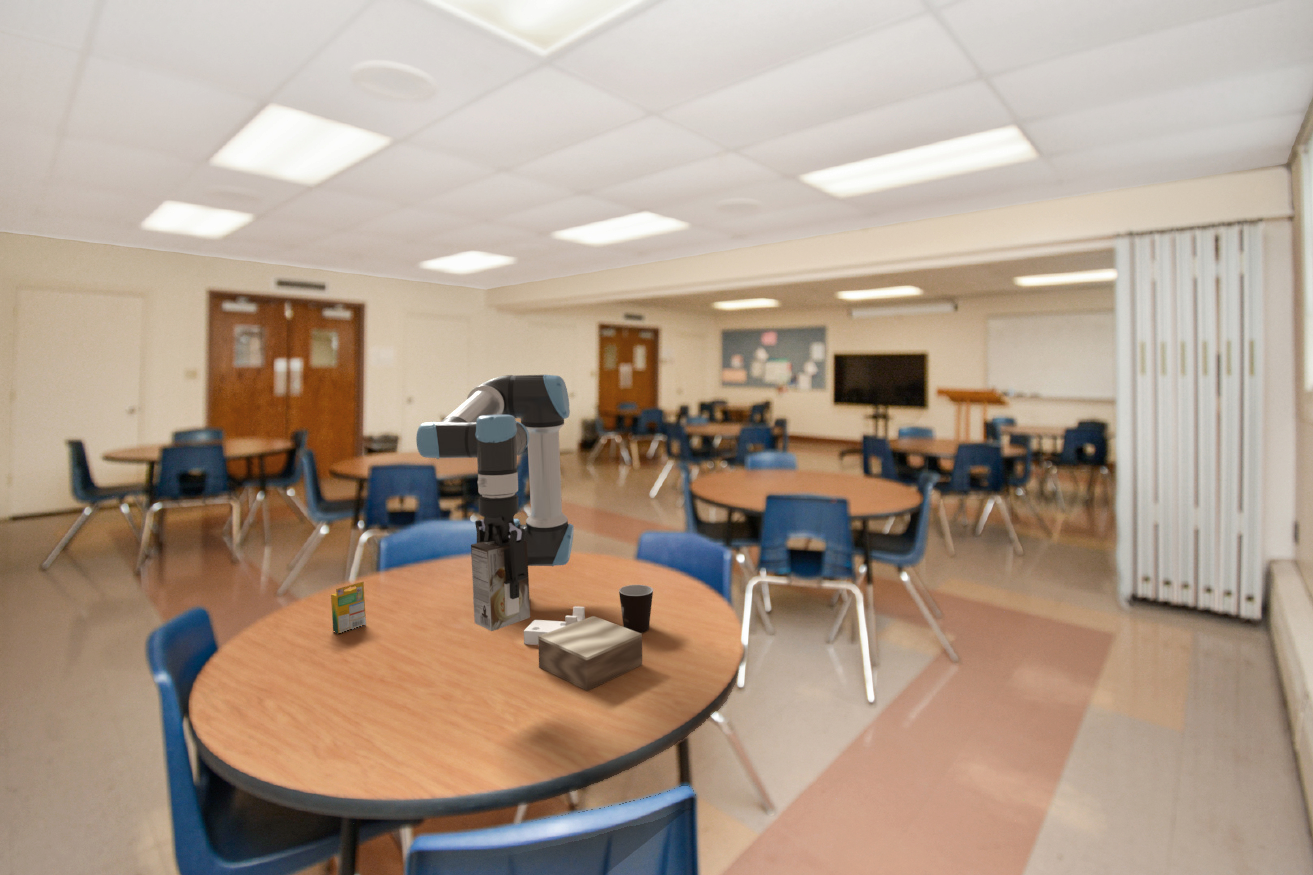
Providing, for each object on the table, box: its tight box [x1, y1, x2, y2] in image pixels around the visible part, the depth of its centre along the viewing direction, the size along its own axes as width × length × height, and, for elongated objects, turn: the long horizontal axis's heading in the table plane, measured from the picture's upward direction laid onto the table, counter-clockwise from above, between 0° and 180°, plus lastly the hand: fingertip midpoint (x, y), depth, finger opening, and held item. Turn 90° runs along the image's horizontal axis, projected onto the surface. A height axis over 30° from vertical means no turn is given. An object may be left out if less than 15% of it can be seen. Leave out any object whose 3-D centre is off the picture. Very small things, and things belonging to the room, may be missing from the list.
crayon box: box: [330, 581, 367, 634], centre depth 158 cm, size 7×3×12 cm, turn 145°
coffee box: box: [470, 540, 531, 632], centre depth 122 cm, size 9×6×16 cm
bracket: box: [523, 605, 586, 646], centre depth 150 cm, size 13×7×8 cm, turn 80°
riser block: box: [537, 615, 643, 692], centre depth 136 cm, size 16×16×7 cm
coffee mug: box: [618, 584, 654, 634], centre depth 158 cm, size 12×9×10 cm
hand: (501, 608), depth 123 cm, fingers closed on coffee box, 6 cm apart
